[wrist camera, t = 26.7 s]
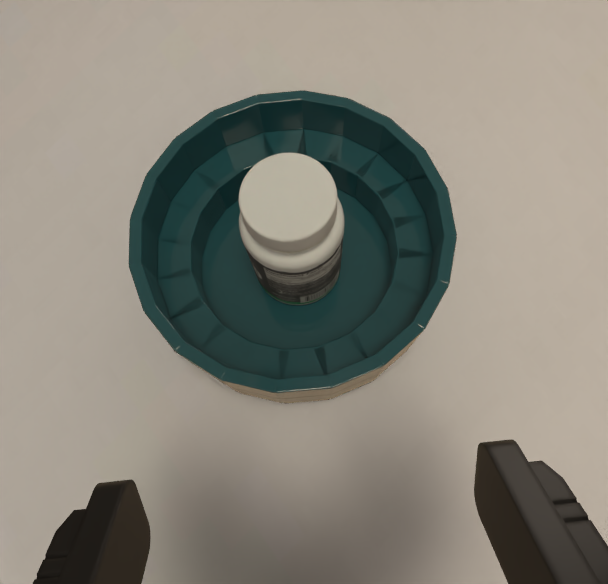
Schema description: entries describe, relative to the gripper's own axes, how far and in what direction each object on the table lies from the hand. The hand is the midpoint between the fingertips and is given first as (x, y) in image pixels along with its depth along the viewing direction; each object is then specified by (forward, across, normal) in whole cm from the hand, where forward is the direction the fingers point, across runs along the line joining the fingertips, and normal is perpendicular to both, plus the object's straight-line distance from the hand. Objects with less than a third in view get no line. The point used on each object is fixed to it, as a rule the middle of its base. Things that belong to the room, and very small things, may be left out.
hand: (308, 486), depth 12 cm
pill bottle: (+17, 0, +2) cm, 18 cm away
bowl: (+18, 0, +2) cm, 18 cm away
